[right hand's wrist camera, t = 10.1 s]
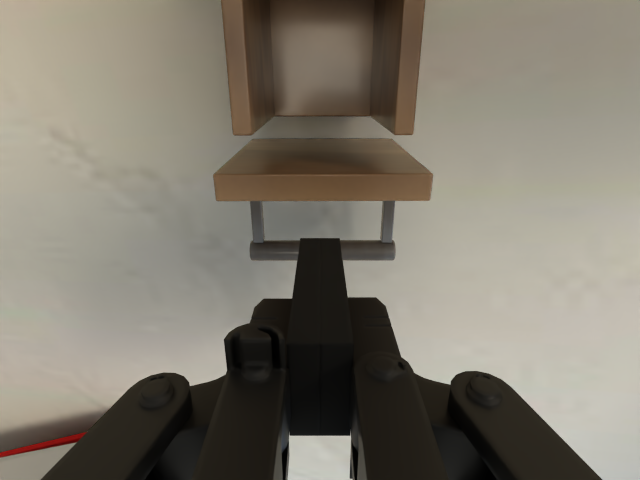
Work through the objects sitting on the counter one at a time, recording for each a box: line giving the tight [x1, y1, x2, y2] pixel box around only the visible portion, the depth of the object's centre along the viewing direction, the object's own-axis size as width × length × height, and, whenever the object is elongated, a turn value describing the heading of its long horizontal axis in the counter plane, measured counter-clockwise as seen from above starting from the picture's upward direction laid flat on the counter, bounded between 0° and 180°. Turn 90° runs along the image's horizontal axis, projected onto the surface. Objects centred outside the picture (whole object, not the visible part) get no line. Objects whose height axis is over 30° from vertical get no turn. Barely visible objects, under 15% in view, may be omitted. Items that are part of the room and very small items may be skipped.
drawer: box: [213, 0, 433, 261], centre depth 19 cm, size 21×9×10 cm, turn 0°
